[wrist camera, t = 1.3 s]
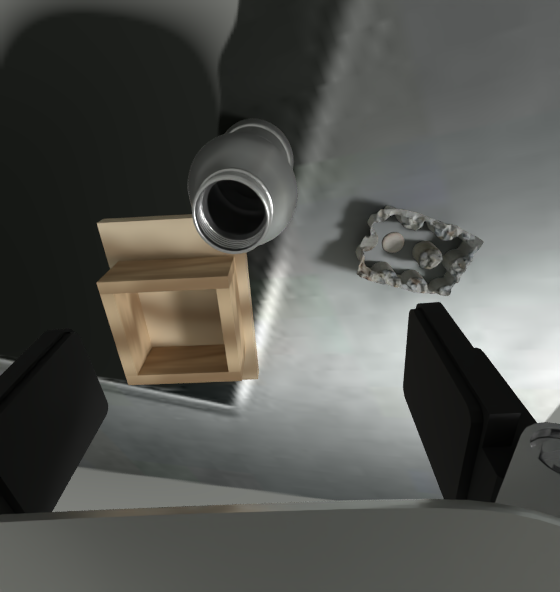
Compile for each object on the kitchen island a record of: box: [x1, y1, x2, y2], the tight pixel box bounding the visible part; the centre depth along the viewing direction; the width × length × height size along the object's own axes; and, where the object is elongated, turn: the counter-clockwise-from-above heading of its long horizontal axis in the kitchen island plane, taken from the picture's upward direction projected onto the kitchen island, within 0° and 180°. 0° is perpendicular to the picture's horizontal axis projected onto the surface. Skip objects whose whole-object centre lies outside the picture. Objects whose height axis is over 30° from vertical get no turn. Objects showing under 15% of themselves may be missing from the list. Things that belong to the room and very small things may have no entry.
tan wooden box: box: [97, 214, 259, 385], centre depth 39 cm, size 20×14×6 cm
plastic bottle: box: [188, 118, 298, 254], centre depth 26 cm, size 6×7×20 cm
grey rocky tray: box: [355, 206, 483, 296], centre depth 37 cm, size 11×8×4 cm
